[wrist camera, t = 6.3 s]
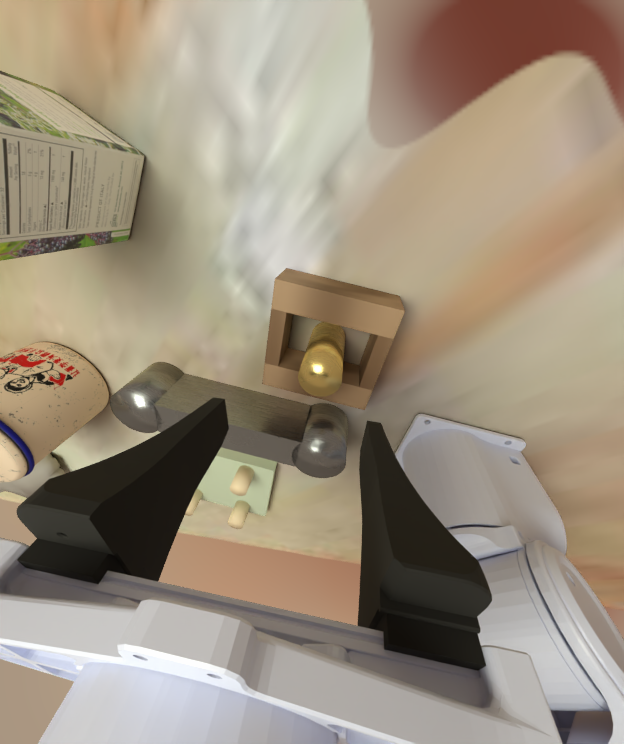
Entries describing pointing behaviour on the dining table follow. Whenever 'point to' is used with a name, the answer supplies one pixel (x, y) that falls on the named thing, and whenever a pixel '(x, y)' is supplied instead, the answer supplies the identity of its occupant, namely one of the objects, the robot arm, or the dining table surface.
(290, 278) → the slot block
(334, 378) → the pin
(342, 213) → the dining table surface
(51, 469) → the bunny figurine
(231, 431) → the ball-knob grey rod
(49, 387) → the teacup with lid
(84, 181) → the syrup box
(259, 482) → the rack
